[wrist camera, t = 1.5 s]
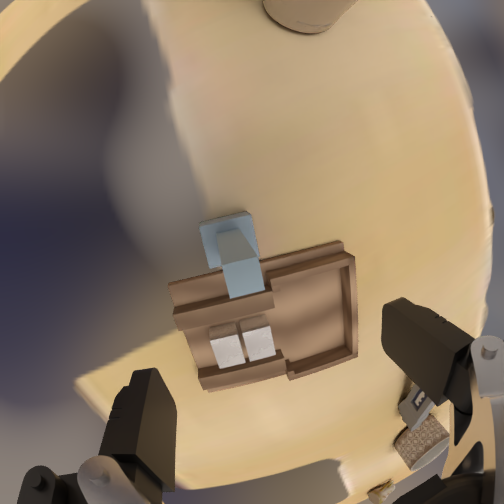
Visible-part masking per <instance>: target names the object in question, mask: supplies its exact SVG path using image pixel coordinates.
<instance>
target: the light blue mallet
mask: <svg viewBox="0 0 504 504" xmlns="http://www.w3.org/2000/svg"><path fill="white" fill-rule="evenodd" d="M199 230H200V234H201V238H202V242H203V245H204V249H205V253H206V257H207V261H208V265H209V268H210V269H211V268H215V267H219V266H222V269H223V273H224V277H225V281H226V285H227V288H228V292H229V296H230V299H231V298H235V297H239V296H243V295H247V294H251V293H255V292H259V291H263V290H265V287H264V282H263V277H262V273H261V268H260V263H259V258H258V257H260V255H259V251H258V246H257V241H256V236H255V231H254V226H253V222H252V217H251V214H250V213H248V212H247V211H245V212H241V213H237V214H232V215H228V216H224V217H219V218H215V219H211V220H207V221H203V222H200V223H199Z"/></svg>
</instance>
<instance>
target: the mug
mask: <svg viewBox="0 0 504 504" xmlns="http://www.w3.org/2000/svg"><path fill="white" fill-rule="evenodd" d="M393 482H394V481H393V480H392V481H390V482H388V483H387V484H386V485H385V486H384V487H380V488H377V489H374V490H372V491H371V492H370V493H369V494H368V497H369V499H370V501H371V502H373V503H374V504H381V503H382V502H383V501H385V499H386V498H387V497H388V495H389V494H390V493H391V492H392V491H393V490H395V485H394V484H393Z"/></svg>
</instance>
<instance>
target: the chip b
mask: <svg viewBox="0 0 504 504" xmlns="http://www.w3.org/2000/svg"><path fill="white" fill-rule="evenodd" d="M239 322H240V326H241V330H242V334H243V338H244V342H245V345H246V349H247V352H248V356H249V360H250V362H251V361H255V360H258V359H262V358H266V357H270V356H273V355H276V352H275V347H274V343H273V338H272V333H271V328H270V325H269V323H268V320H267V318H266V316H265V314H263V315H259V316H255V317H251V318H247V319H243V320H239Z"/></svg>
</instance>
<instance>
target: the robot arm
mask: <svg viewBox="0 0 504 504" xmlns="http://www.w3.org/2000/svg"><path fill="white" fill-rule="evenodd" d="M356 1H357V0H263V4H264V7H265V9H266V11H267V13H268V14H269V15H270V16H271V17H272V18H273V19H274V20H276V21H277V22H278V23H280V24H281V25H283V26H285V27H287V28H290V29H292V30H295V31H299V32H303V33H319V32H323V31H325V30H327V29H329V28H330V27H331V26H332V25H333V24H334V23H335V22H336V21H337V20H338V19H339V18H340V17H341V16H342V15H343V14H344V13H345V12H346V11H347V10H348V9H349V8H350V7H351V6H352V5H353V4H354V3H355V2H356ZM381 342H382V346H383V349H384V351H385V353H386V354H387V355H388V356H389V357H390V358H391V359H392V360H393V361H394V362H395V363H396V364H397V365H398V366H399V367H400V368H401V369H402V370H403V371H404V372H405V373H406V374H407V376H408V377H409V378H410V379H411V380H412V381H413V382H414V383H415V384H416V385H417V386H418V387H419V388H420V389H421V390H422V391H423V392H424V393H425V394H426V395H427V396H428V397H429V398H430V399H431V400H432V401H433V402H434V403H435V405H436V406H437V407H438V406H439V405H441V404H442V403H444V402H445V401H447V400H448V399H449V400H450V401H451V405H450V437H449V453H448V457H447V460H446V462H445V466H444V469H443V472H442V477H441V479H440V478H439V476H438V475H437V474H436V475H434V476H433V477H431V478H430V479H428V480H427V481H426V482H424V483H422V484H421V485H419V486H417V487H416V488H414V489H413V490H411V491H409V492H407V493H406V494H404V495H402V496H401V497H399V498H398V499H397V500H396V501H395V502H393V504H504V341H502V340H501V339H499V338H497V337H494V336H489V335H488V336H481V337H478V338H477V339H474V338H473V337H472V336H470V335H469V334H467V333H466V332H464V331H463V330H461V329H460V328H458V327H457V326H455V325H454V324H452V323H451V322H449V321H448V322H447V320H446V319H445V318H443V317H442V316H439V314H437V313H435V312H434V311H432V310H431V309H429V308H426V307H422V306H419V305H415V304H413V303H412V302H410V301H409V300H407V299H406V298H403V297H401V298H399V299H396V300H394V301H391V302H389V303H387V304H385V305H384V306H383V309H382V334H381ZM176 425H177V409H176V405H175V402H174V399H173V397H172V396H171V394H170V392H169V390H168V388H167V386H166V385H165V383H164V381H163V379H162V377H161V375H160V373H159V371H158V370H157V369H156V368H149V369H142V370H135V371H134V372H133V374H132V377H131V380H130V383H129V386H124V387H123V388H122V389H121V391H120V392H119V393H118V394H117V396H116V397H115V400H114V403H113V406H112V411H111V412H110V416H109V420H108V422H107V426H106V429H105V432H104V437H103V440H102V443H101V447H100V451H99V454H98V456H94V457H91V458H89V459H88V460H86V461H85V462H84V463H83V464H82V465H81V466H80V468H79V470H78V473H73V474H67V475H61V476H57V475H56V474H55V473H54V472H53V471H51V470H50V469H49V468H48V467H46V466H35V467H33V468H31V469H30V470H29V471H28V472H27V473H26V475H25V477H24V480H23V483H22V486H21V490H20V494H19V497H18V501H17V504H165V503H163V502H162V492H175V447H176Z"/></svg>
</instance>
